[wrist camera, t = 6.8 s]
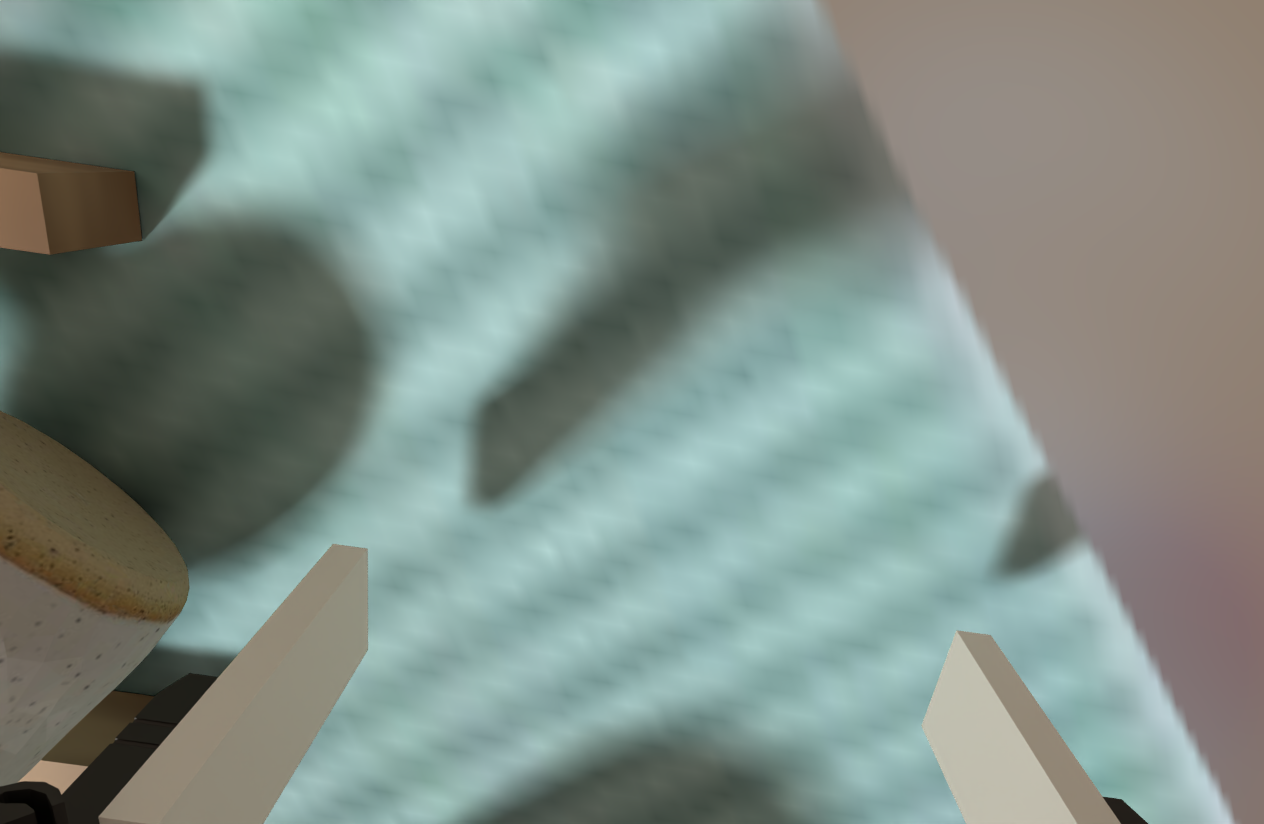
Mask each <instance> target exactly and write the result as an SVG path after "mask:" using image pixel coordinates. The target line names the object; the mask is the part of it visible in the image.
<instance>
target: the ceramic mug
mask: <svg viewBox="0 0 1264 824" xmlns="http://www.w3.org/2000/svg"><path fill="white" fill-rule="evenodd" d="M188 592H189V578H188V570H187V567H186V565H185V562H184V560H183V558H182V556H181V554H180V553H179V551H178V549H177V547H176V546H175V544H174V543H173V542H172V540H171V539H170V538H169V537H168V535H167V534H166V533H165V532H164V530H163V529H162V528H161V527H160V526H159V525H158V524H157V523H156V522H155V521H154V520H153V519H152V518H151V517H150V516H149V515H148V514H147V513H146V511H145V510H144V509H143V508H142V507H141V506H139V505H138V504H137V503H136V502H135V501H134V500H133V499H132V498H131V497H130V496H128V495H127V494H126V493H125V492H124V491H123V490H122V489H121V488H119V487H118V486H117V485H116V484H114V483H113V482H112V481H111V480H109V479H108V478H107V477H106V476H104V475H103V474H102V473H101V472H99V471H98V470H97V469H95V468H94V467H93V466H91V465H90V464H89V463H87V462H86V461H85V460H83V459H82V458H80V457H79V456H77V455H76V454H74V453H73V452H72V451H70V450H69V449H67V448H66V447H64V446H63V445H62V444H60V443H59V442H57V441H55V440H54V439H52V438H50V437H49V436H47V435H45V434H44V433H42V432H40V431H39V430H37V429H35V428H33V427H32V426H30V425H28V424H27V423H25V422H23V421H21V420H19V419H17V418H15V417H13V416H10V415H8V414H6V413H4V412H2V411H0V786H5V785H9V784H13V783H18V782H19V781H20V780H21V779H22V778H23V777H24V776H25V775H26V774H27V773H28V772H29V771H30V770H31V769H32V768H33V767H34V766H35V765H36V764H37V763H38V762H39V761H40V760H41V759H42V758H43V757H44V756H45V755H46V754H47V753H48V752H49V751H50V750H51V749H52V748H53V747H54V746H55V745H56V744H57V743H58V742H59V741H60V740H61V739H62V738H63V737H64V736H65V735H66V734H67V733H68V732H69V731H70V730H71V729H72V728H73V727H75V726H76V725H77V724H78V723H79V722H80V721H81V720H82V719H83V718H84V717H85V716H86V715H87V714H88V713H89V712H90V711H91V710H92V709H93V708H95V707H96V706H97V705H98V704H99V703H100V702H101V701H102V700H103V699H104V698H105V697H106V696H107V695H108V694H109V693H110V692H112V691H113V690H114V689H115V688H116V687H117V686H118V685H119V684H120V683H121V682H122V681H123V680H124V679H125V678H126V677H127V676H128V675H129V674H130V673H131V672H132V671H133V670H134V669H135V668H136V667H137V666H138V665H139V664H140V663H141V662H142V661H143V659H144V658H145V657H146V656H147V655H148V654H149V653H150V652H151V651H152V649H153V648H154V647H155V646H156V644H157V643H158V641H159V640H160V639H161V637H162V636H163V635H164V633H165V632H166V631H167V629H168V628H169V627H170V626H171V624H172V623H173V622H174V621H175V619H176V618H177V617H178V616H179V614H180V613H181V611H182V609H183V607H184V605H185V603H186V601H187V596H188Z"/></svg>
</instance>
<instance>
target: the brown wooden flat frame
mask: <svg viewBox="0 0 1264 824" xmlns="http://www.w3.org/2000/svg"><path fill="white" fill-rule="evenodd" d="M136 241H142V235H141V226H140V217H139V208H138V200H137V191H136V182H135V173H134V171H127V170H120V169H114V168H107V167H100V166H93V165H86V164H79V163H72V162H65V161H58V160H51V159H44V158H37V157H31V156H24V155H17V154H10V153H3V152H0V248H7V249H14V250H21V251H28V252H35V253H42V254H49V255H51V254H58V253H64V252H71V251H77V250H84V249H90V248H97V247H103V246H110V245H116V244H123V243H130V242H136ZM154 697H155V696H148V695H141V694H133V693H126V692H119V691H112V692H110V693H109V694H108V695H107V696H106V697H105V698H104V699H103V700H102V701H101V702H100V703H99V704H98V705H97V706H96V707H95V708H93V709H92V710H91V711H90V712H89V713H88V714H87V715H86V716H85V717H84V718H83V719H82V720H81V721H80V722H79V723H78V724H77V725H76V726H75V727H73V728H72V729H71V730H70V731H69V732H68V733H67V734H66V735H65V736H64V737H63V738H62V739H61V740H60V741H59V742H58V743H57V744H56V745H55V746H54V747H53V748H52V749H51V750H50V751H49V752H48V753H47V754H46V755H45V756H44V757H43V758H42V759H41V760H40V761H39V762H38V763H37V764H36V765H35V766H34V767H33V768H32V769H31V770H30V771H29V772H28V773H27V774H26V775H25V776H24V777H23V778H22V779H21V780H20V781H19V782H22V781H36V782H46V783H48V784H50V785H52V786H54V787H56V788H58V789H59V790H60V793H61V795H62V794H63V793H64V792H65V790H66V789H67V788H68V787H69V786H70V785H71V784H72V783H73V782H74V781H75V780H76V779H77V778H78V777H79V776H80V775H81V774H82V773H83V771H84V770H85V769H86V768H87V767H88V766H89V765H90V764H91V763H92V762H93V761H94V760H95V759H96V758H97V757H98V756H99V755H100V754H101V752H102V751H103V750H104V749H105V748H106V747H107V746H108V745H109V744H113V743H114V741H115V738H116V737H117V736H118V735H119V733H120V732H121V731H122V730H123V729H124V728H125V727H126V726H127V725H128V724H129V723H133V721H134V718H135V717H136V716H137V714H138V713H139V712H140V711H141V710H142V709H143V708H144V707H145V706H146V705H147V704H148V703H149V702H150V701H151V700H152V699H153V698H154Z"/></svg>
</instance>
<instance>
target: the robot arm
mask: <svg viewBox="0 0 1264 824" xmlns="http://www.w3.org/2000/svg"><path fill="white" fill-rule="evenodd" d="M367 650H368V549H366V548H359V547H352V546H344V545H337V544H333V545H332V546H331V547H330V548H329V549H328V550H327V552H326V553H325V554H324V555H323V556H322V557H321V559H320V560H319V561H318V562H317V563H316V564H315V565H314V567H313V568H312V569H311V570H310V571H309V572H308V574H307V575H306V576H305V577H304V578H303V579H302V581H301V582H300V583H299V584H298V585H297V586H296V588H295V589H294V590H293V591H292V592H291V593H290V595H289V596H288V597H287V598H286V599H285V600H284V602H283V603H282V604H281V605H280V606H279V607H278V609H277V610H276V611H275V612H274V613H273V614H272V616H271V617H270V618H269V619H268V620H267V621H266V622H265V624H264V625H263V626H262V627H261V628H260V629H259V631H258V632H257V633H256V634H255V635H254V636H253V638H252V639H251V640H250V641H249V642H248V643H247V645H246V646H245V647H244V648H243V649H242V650H241V652H240V653H239V654H238V655H237V656H236V657H235V659H234V660H233V661H232V662H231V663H230V664H229V666H228V667H227V668H226V669H225V670H224V671H223V673H222V674H221V675H220V676H219V677H213V676H206V675H199V674H191V673H189V674H188V675H186V676H184V677H183V678H181V679H180V680H178V681H176V682H175V683H173V684H172V685H170V686H168V687H167V688H165V689H163V690H162V691H160V692H159V693H157V694H156V695H155V697H154V698H153V699H152V700H151V701H150V702H149V703H148V704H147V705H146V706H145V707H144V708H143V709H142V710H141V711H140V712H139V713H138V714H137V716H136V717H135V718H134V721H133V723H129V724H128V725H127V726H126V727H125V728H124V729H123V730H122V731H121V732H120V733H119V735H118V736H117V737H116V738H115V741H114V743H113V744H109V745H108V746H107V747H106V748H105V749H104V750H103V751H102V752H101V754H100V755H99V756H98V757H97V758H96V759H95V760H94V761H93V762H92V763H91V764H90V765H89V766H88V767H87V768H86V769H85V770H84V771H83V773H82V774H81V775H80V776H79V777H78V778H77V779H76V780H75V781H74V782H73V783H72V784H71V785H70V786H69V787H68V788H67V789H66V790H65V792H64V793H63V794H62V795H61V793H60V790H59V789H58V788H56V787H54V786H52V785H50V784H48V783H46V782H36V781H22V782H18V783H13V784H9V785H5V786H0V824H263V823H264V821H265V820H266V818H267V817H268V815H269V813H270V812H271V810H272V808H273V807H274V805H275V803H276V802H277V800H278V798H279V797H280V795H281V793H282V792H283V790H284V788H285V787H286V785H287V783H288V782H289V780H290V778H291V777H292V775H293V773H294V772H295V770H296V768H297V767H298V765H299V763H300V762H301V760H302V758H303V757H304V755H305V753H306V752H307V750H308V748H309V747H310V745H311V743H312V742H313V740H314V738H315V737H316V735H317V733H318V732H319V730H320V728H321V727H322V725H323V724H324V722H325V720H326V719H327V717H328V715H329V714H330V712H331V710H332V709H333V707H334V705H335V704H336V702H337V700H338V699H339V697H340V695H341V694H342V692H343V690H344V689H345V687H346V685H347V684H348V682H349V680H350V679H351V677H352V675H353V674H354V672H355V670H356V669H357V667H358V665H359V664H360V662H361V660H362V659H363V657H364V655H365V654H366V652H367ZM922 728H923V730H924V733H925V735H926V737H927V739H928V741H929V743H930V746H931V748H932V750H933V752H934V754H935V757H936V759H937V761H938V763H939V765H940V768H941V770H942V772H943V774H944V776H945V778H946V781H947V783H948V785H949V787H950V789H951V792H952V794H953V796H954V798H955V800H956V802H957V805H958V807H959V809H960V811H961V813H962V816H963V818H964V820H965V822H966V824H1148V823H1147V822H1146V821H1145V820H1144V819H1142V818H1141V817H1140V816H1139V815H1138V814H1137V813H1136V812H1135V811H1134V810H1133V809H1132V808H1130V807H1129V806H1128V805H1127V804H1126V803H1125V802H1124V801H1123V800H1122V799H1116V798H1108V797H1102V795H1101V794H1100V793H1099V791H1098V790H1097V788H1096V787H1095V785H1094V784H1093V782H1092V781H1091V780H1090V778H1089V777H1088V775H1087V774H1086V772H1085V771H1084V769H1083V768H1082V767H1081V765H1080V764H1079V762H1078V761H1077V759H1076V758H1075V756H1074V755H1073V754H1072V752H1071V751H1070V749H1069V748H1068V746H1067V745H1066V743H1065V742H1064V741H1063V739H1062V738H1061V736H1060V735H1059V733H1058V732H1057V730H1056V729H1055V728H1054V726H1053V725H1052V723H1051V722H1050V720H1049V719H1048V717H1047V716H1046V714H1045V713H1044V712H1043V710H1042V709H1041V707H1040V706H1039V704H1038V703H1037V701H1036V700H1035V699H1034V697H1033V696H1032V694H1031V693H1030V691H1029V690H1028V688H1027V687H1026V686H1025V684H1024V683H1023V681H1022V680H1021V678H1020V677H1019V675H1018V674H1017V673H1016V671H1015V670H1014V668H1013V667H1012V665H1011V664H1010V662H1009V661H1008V660H1007V658H1006V657H1005V655H1004V654H1003V652H1002V651H1001V649H1000V648H999V647H998V645H997V644H996V642H995V641H994V639H993V638H992V636H991V635H986V634H979V633H971V632H964V631H957V630H956V633H955V636H954V639H953V641H952V644H951V647H950V650H949V652H948V655H947V658H946V660H945V663H944V666H943V669H942V671H941V674H940V677H939V679H938V682H937V685H936V688H935V690H934V693H933V696H932V699H931V701H930V704H929V707H928V709H927V712H926V715H925V718H924V720H923V723H922Z"/></svg>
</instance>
